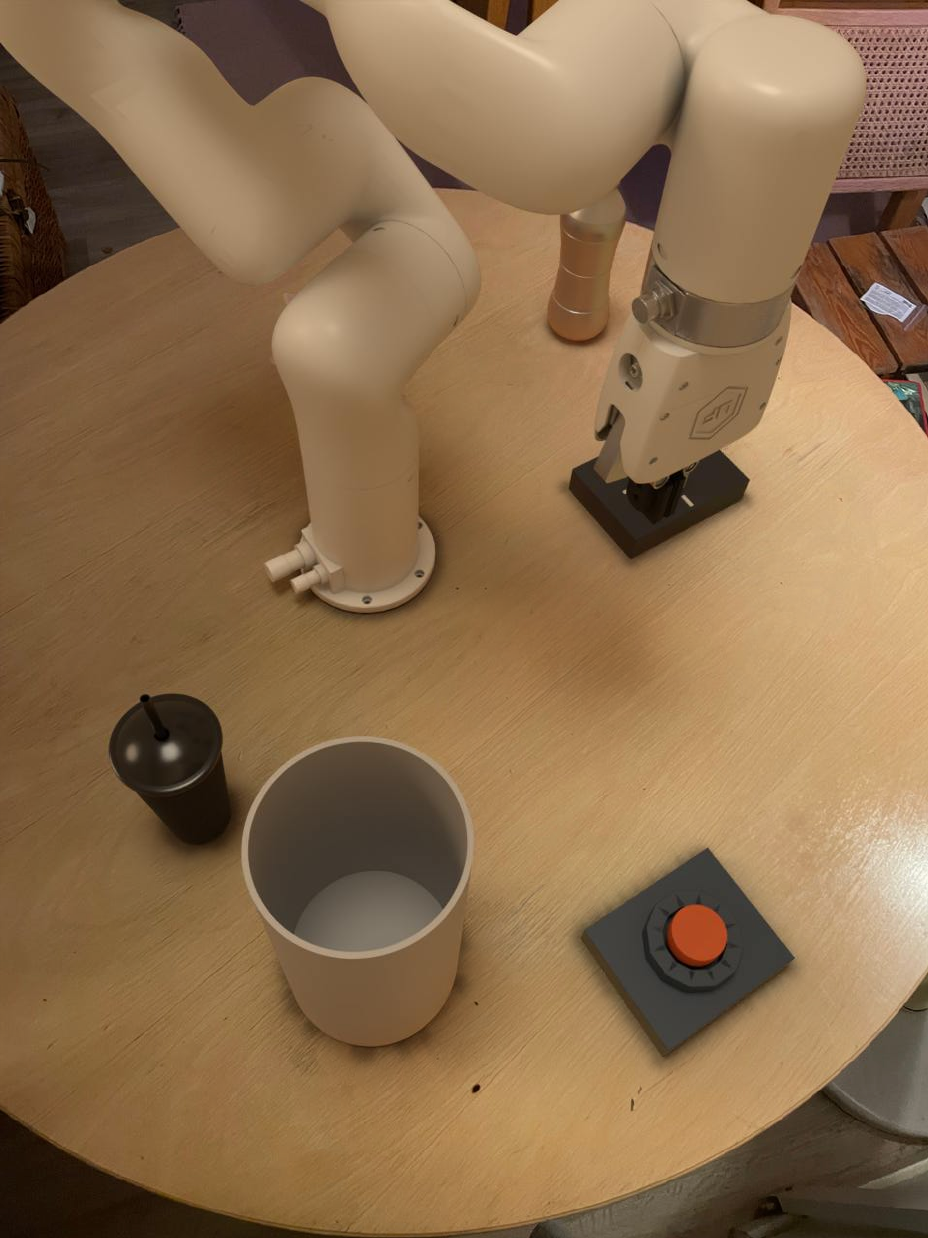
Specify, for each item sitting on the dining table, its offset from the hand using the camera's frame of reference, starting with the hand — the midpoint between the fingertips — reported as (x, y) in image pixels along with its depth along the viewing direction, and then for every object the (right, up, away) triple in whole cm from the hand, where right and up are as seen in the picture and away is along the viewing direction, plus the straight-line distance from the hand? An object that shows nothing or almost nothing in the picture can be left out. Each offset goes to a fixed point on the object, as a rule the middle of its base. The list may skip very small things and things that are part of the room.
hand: (649, 504), depth 69 cm
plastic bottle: (0, +24, +45) cm, 51 cm away
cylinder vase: (-19, -33, +8) cm, 39 cm away
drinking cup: (-33, -23, +14) cm, 43 cm away
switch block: (+4, -33, +9) cm, 34 cm away
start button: (+4, -31, +6) cm, 32 cm away
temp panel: (+7, +5, +33) cm, 34 cm away
